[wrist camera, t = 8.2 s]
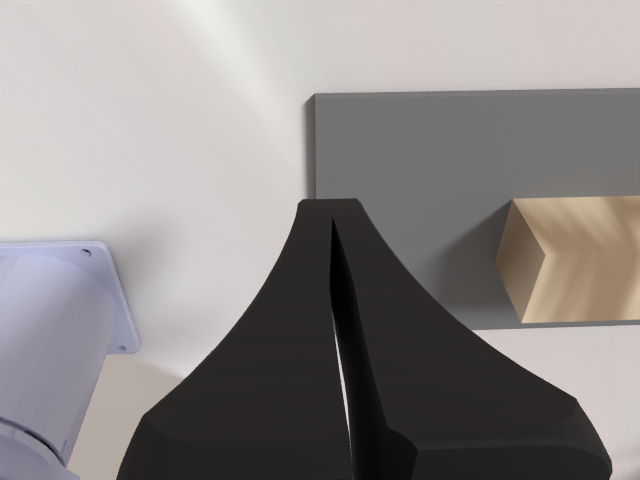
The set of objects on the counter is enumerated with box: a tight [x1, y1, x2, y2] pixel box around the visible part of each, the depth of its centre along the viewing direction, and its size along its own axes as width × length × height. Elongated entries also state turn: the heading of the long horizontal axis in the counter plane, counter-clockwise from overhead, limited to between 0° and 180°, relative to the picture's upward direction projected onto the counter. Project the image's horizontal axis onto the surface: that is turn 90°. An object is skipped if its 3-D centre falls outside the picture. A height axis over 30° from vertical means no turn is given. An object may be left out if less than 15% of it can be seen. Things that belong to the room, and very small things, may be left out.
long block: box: [494, 196, 640, 323], centre depth 24 cm, size 4×4×10 cm
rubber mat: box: [315, 88, 640, 334], centre depth 25 cm, size 22×14×1 cm, turn 90°
